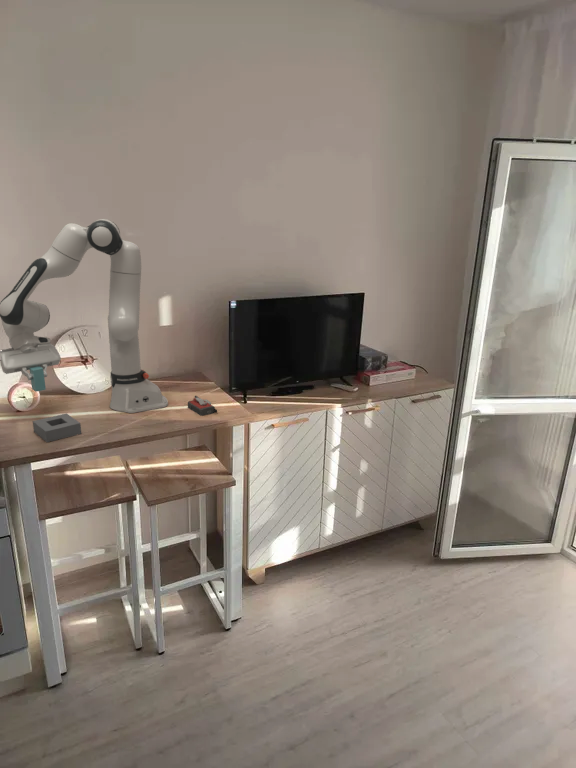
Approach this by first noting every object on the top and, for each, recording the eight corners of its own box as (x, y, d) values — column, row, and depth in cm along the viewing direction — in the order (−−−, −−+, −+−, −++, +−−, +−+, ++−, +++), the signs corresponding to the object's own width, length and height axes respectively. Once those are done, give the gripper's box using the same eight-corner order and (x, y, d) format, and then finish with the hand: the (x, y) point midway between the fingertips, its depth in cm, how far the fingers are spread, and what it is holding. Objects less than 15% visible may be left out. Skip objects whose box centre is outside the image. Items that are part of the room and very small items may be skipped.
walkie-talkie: (222, 413, 226) (197, 399, 241) (221, 402, 224) (197, 389, 240) (202, 418, 221) (178, 403, 236) (201, 407, 219) (178, 392, 235)
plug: (42, 387, 213) (39, 366, 211) (45, 389, 211) (43, 368, 208) (32, 389, 211) (29, 368, 208) (35, 391, 208) (33, 370, 206)
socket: (67, 423, 211) (66, 413, 210) (81, 433, 203) (80, 423, 202) (33, 431, 204) (32, 421, 202) (47, 442, 195) (45, 431, 194)
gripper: (-4, 346, 204) (9, 379, 200) (53, 337, 217) (67, 368, 213) (-7, 355, 208) (6, 388, 205) (50, 346, 221) (63, 376, 218)
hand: (38, 377), depth 209 cm, fingers closed on plug, 4 cm apart
